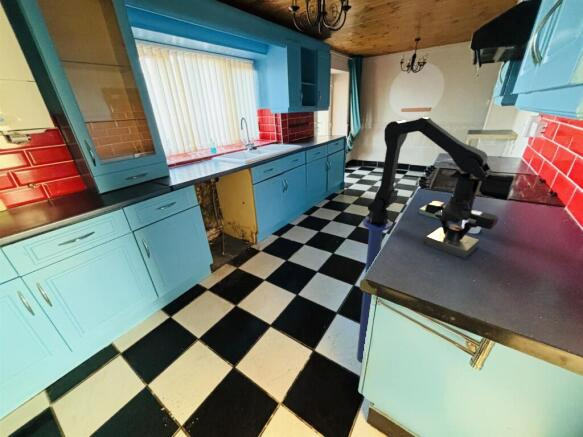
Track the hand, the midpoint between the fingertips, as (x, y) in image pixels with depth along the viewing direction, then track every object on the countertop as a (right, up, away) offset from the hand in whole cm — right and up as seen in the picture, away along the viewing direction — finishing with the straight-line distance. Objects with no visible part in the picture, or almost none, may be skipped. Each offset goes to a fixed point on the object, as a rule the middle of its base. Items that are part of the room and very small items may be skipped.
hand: (452, 236), depth 80 cm
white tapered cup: (+14, +2, +11) cm, 17 cm away
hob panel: (0, -3, +1) cm, 4 cm away
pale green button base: (+10, +8, +25) cm, 28 cm away
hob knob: (0, 0, 0) cm, 0 cm away
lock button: (+9, +11, +23) cm, 27 cm away
